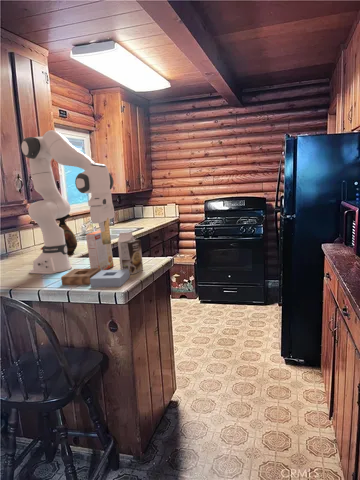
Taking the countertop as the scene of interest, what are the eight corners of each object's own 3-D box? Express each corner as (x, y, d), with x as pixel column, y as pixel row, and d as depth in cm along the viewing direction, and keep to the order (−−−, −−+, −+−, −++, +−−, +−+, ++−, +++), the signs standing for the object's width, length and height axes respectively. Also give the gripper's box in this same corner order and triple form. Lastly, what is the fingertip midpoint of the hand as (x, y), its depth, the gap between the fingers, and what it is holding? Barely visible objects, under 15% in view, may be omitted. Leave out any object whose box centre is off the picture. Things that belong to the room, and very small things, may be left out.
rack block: (62, 285, 165) (61, 276, 164) (75, 276, 178) (74, 268, 177) (90, 284, 162) (89, 276, 162) (101, 275, 176) (100, 268, 175)
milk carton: (133, 269, 185) (129, 233, 181) (120, 269, 186) (116, 234, 183) (137, 265, 192) (134, 231, 188) (125, 265, 193) (121, 231, 190)
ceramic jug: (76, 251, 245) (71, 208, 240) (79, 254, 231) (74, 209, 226) (51, 254, 238) (45, 211, 233) (52, 258, 224) (46, 212, 219)
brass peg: (101, 244, 159) (98, 218, 157) (104, 242, 163) (101, 217, 161) (109, 244, 158) (106, 218, 156) (112, 242, 162) (109, 216, 160)
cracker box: (104, 266, 196) (100, 229, 192) (114, 266, 194) (110, 229, 190) (90, 273, 183) (85, 233, 179) (99, 273, 181) (95, 233, 177)
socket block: (90, 287, 158) (89, 278, 157) (102, 278, 172) (101, 270, 171) (120, 286, 156) (119, 277, 155) (129, 277, 170) (128, 269, 169)
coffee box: (132, 274, 174) (129, 243, 171) (122, 273, 177) (119, 242, 174) (143, 270, 182) (141, 239, 179) (134, 268, 185) (131, 239, 182)
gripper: (103, 198, 168) (106, 227, 170) (86, 202, 148) (89, 234, 150) (116, 198, 167) (119, 226, 169) (100, 201, 147) (103, 234, 149)
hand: (105, 230), depth 159 cm, fingers closed on brass peg, 4 cm apart
